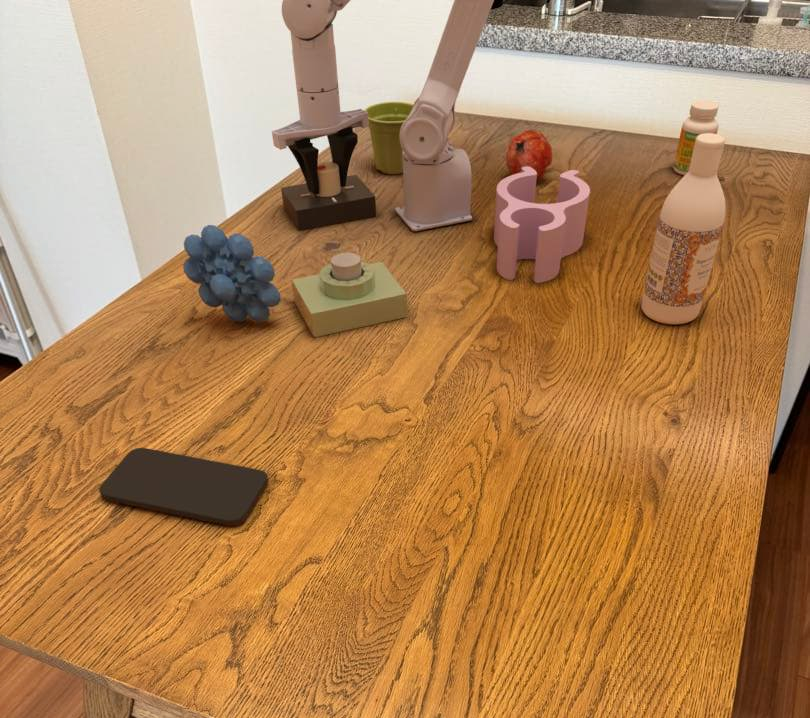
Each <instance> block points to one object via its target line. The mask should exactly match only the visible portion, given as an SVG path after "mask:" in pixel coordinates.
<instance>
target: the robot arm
mask: <svg viewBox="0 0 810 718" xmlns="http://www.w3.org/2000/svg"><path fill="white" fill-rule="evenodd" d="M350 2H351V0H282V2H281V16H282V20H283V22H284V25H285V26H286V28H287V29H288V31H289V32H290V41H291V55H292V62H293V69H294V79H295V87H296V88H295V89H296V95H297V104H298V105H297V106H298V113H299V120H296V121H294V122H292V123H290V124H288V125H285V126H283V127H280V128H278V129H274V130H271V136H272V143H273V147H275V148H277V149H278V150H280V151H281V150H284V149H287V148H288V149H289V151H290V152H291V154H292V155H293V157H294V159H295V161H296V163H297V164H298V166H299V168H300V170H301V173H302V175H303V178H304V181H305V183H306V184H307V187H308V191H309V192H311V193H313V194H314V195H317V194H319V181H318V171H317V166H318V163H319V162H318V160H319V150H320V149H318V148H317V147H315V146H314V143H313V142H311V140H315V139H319V138H323V137H327V141H328V146H329V150H330V155H331V162H332V163H336V164H338V166H339V175H340V186H341V187H344V186H346V179H347V176H348V172H349V167H350V162H351V160H352V156H353V153H354V151H355V149H356V146H357V144H358V143H359V138H358V137H359V136H358V133H356V132H354V129H357V128H362V129H364V128H369V121H368V112H366V111H364V110H365V109H362V108H359V109H354V110H353V109H352V110H346V111H341V102H340V90H339V89H340V87H339V77H338V64H337V52H336V45H335V36H334V35H335V34H334V24H333V22H334V20H335V19H336V17H337V15H338V11H339V12H340V11H342V10H343V9H344V8H345V7H346V6H347V5H348V4H349V3H350ZM494 2H495V0H453V4H452V6H451V8H450V12H449V14H448V17H447V21H446V24H445V26H444V29H443V31H442V34H441V38H440V40H439V43H438V46H437V49H436V51H435V55H434V57H433V60H432V64H431V66H430V69H429V72H428V76H427V77H426V80H425V83H424V84H423V87H422V90H421V93H420V95H419V97H418V98H416V100H415V101H414V103H413V104H414V105H413V107H412V110H411V112H410V114H409V116H408V118H407V119H406V120H405V121H404V122H403V124H402V126H401V129H400V134H399V139H400V144H401V147H402V149H403V151H402V152H403V172H402V184H403V205H402V206H397V207H395V208H394V212H395V213H396V214H397V215H398V217H399V218H400V219H401V220H402V221H403V222H404V223H405V224H406V226H407V227H408V228H409V229H410V230H411V231H412V232H418V231H419V232H420V231H425V230H429V229H434V228H440V227H445V226H450V225H455V224H460V223H466V222H470V221H472V220H473V216H472V215H471V211H472V210H471V209H472V207H471V204H472V181H473V180H472V176H473V175H472V167H471V166H472V165H471V161H470V157H469V155H468V153H467V152H466V150H465V149H463V148H454V146H453V144H452V143H451V140H450V139H449V136H450V134H451V132H452V131H453V128H454V126H455V122H456V110H455V109H456V102H457V98H458V97H459V94H460V90H461V87H462V85H463V82H464V80H465V76H466V75H467V72H468V70H469V67H470V63H471V61H472V58H473V56H474V53H475V52H476V48H477V45H478V43H479V40H480V37H481V35H482V32H483V30H484V28H485V25H486V23H487V19H488V18H489V14H490V12H491V9H492V7H493V4H494Z"/></svg>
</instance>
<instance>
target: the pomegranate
mask: <svg viewBox="0 0 810 718" xmlns="http://www.w3.org/2000/svg"><path fill="white" fill-rule="evenodd" d="M505 160H506V162H505V163H506V167H507V169H508V172H509V173H510V175H514V174H518V173H521V170H522V167H526V166H529V167H531V168H533V169H534V170H535V171H536V172H537V179H536V182H537V181H538V180H540V179H541V178H543V177H544V175H545V174H546V170H547V168H548V167H550V166H551V165H552V162H553V147H552V145H551V143H550V142H549V141H548V139H547V138H546V137H545V135H544V133H543V132H542V131H540V130H536V129H528V130H524V131H523V132H522V133H521V134H518V135H517V136H514V137H513V138H512V139H511V140H510V143H509V145H508V150H507V152H506V155H505Z"/></svg>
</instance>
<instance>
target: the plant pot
mask: <svg viewBox="0 0 810 718" xmlns="http://www.w3.org/2000/svg"><path fill="white" fill-rule="evenodd" d="M413 105H414V103H410V102H405V101H404V102H403V101H386V102H385V101H384V102H378V103H374V104H372V105H369V106H368V107H366V108H365V109H363V110H364V111H366V112H368V121H369V126H368V128H369V134H370V139H371V146H372V151H373V156H374V157H373V158H374V163H375V168H376V170H377V171H380V172H382V174H385V175H401V174H403V152H402V151H403V149H402V147H401V144H400V139H399V134H400V129H401V126H402V124H403V122H404V121H405V120H406V119H407V118H408V116H409V114H410V112H411V110H412V107H413Z"/></svg>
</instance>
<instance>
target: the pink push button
mask: <svg viewBox="0 0 810 718" xmlns="http://www.w3.org/2000/svg"><path fill="white" fill-rule="evenodd" d="M361 261H362V257H361V256H360V255H359V254H357V253H355V252H341V253H338V254H335V255H332V257H331V259H330V263H331V267H332V277H333V279H336V280H338V281H351V280H356V279H358V278H360V277H361V276H362V267H361Z"/></svg>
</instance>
